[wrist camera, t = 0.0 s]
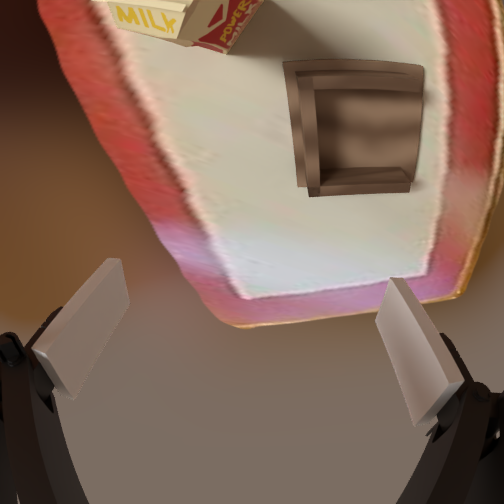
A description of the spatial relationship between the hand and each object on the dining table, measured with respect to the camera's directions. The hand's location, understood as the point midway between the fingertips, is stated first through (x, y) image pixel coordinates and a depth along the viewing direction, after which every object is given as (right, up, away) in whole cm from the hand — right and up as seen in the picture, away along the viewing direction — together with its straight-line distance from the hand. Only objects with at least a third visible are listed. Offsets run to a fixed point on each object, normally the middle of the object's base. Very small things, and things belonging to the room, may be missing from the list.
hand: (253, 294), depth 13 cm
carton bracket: (+14, +19, +19) cm, 30 cm away
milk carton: (-5, +30, +10) cm, 32 cm away
